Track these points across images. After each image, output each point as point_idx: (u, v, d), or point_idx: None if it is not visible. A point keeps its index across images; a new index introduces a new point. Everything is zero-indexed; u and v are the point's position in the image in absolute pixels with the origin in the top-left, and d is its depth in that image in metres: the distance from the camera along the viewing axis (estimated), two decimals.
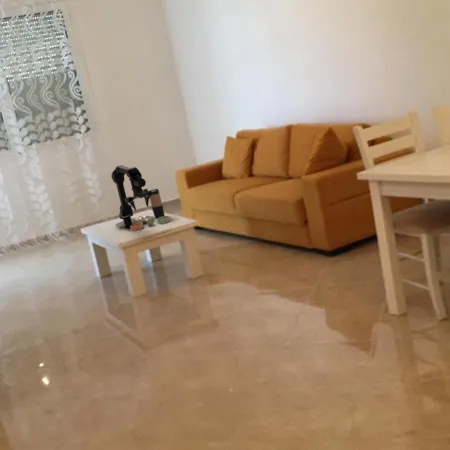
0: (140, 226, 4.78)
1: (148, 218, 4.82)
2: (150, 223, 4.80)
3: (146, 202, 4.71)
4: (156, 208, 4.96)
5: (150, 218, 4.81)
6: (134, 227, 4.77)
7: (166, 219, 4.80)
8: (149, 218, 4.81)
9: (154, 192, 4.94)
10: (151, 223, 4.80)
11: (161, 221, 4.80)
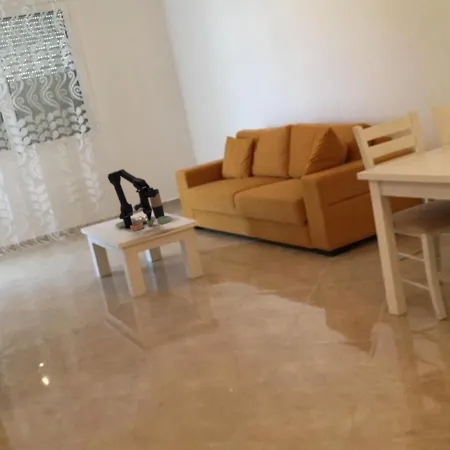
0: (140, 226, 4.78)
1: None
2: (150, 223, 4.80)
3: None
4: (156, 208, 4.96)
5: None
6: (134, 227, 4.77)
7: (166, 219, 4.80)
8: None
9: None
10: (151, 223, 4.80)
11: (161, 221, 4.80)
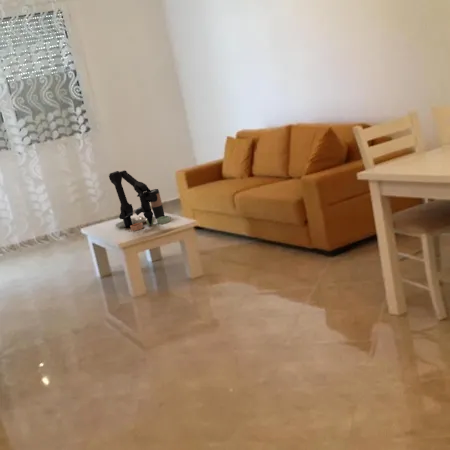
0: (140, 226, 4.78)
1: None
2: None
3: None
4: (156, 208, 4.96)
5: None
6: (134, 227, 4.77)
7: (166, 219, 4.80)
8: None
9: (154, 192, 4.94)
10: None
11: (161, 221, 4.80)
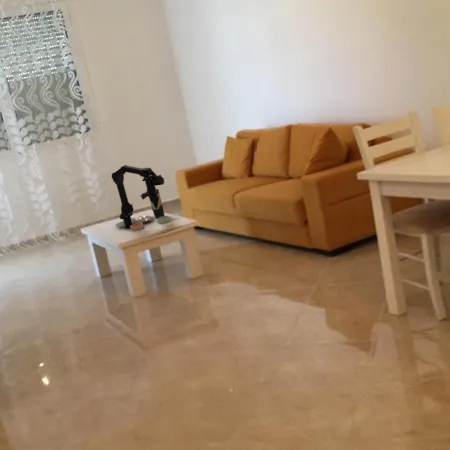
0: (140, 226, 4.78)
1: None
2: None
3: None
4: None
5: None
6: (134, 227, 4.77)
7: (166, 219, 4.80)
8: None
9: None
10: None
11: (161, 221, 4.80)
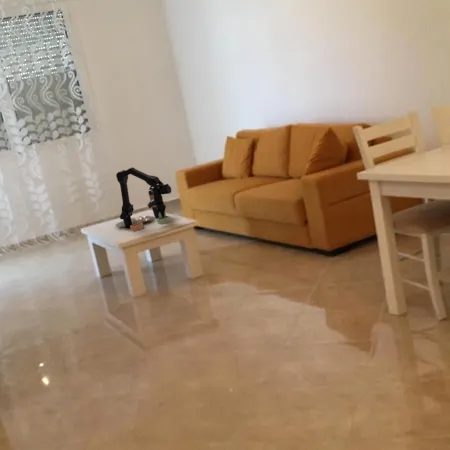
0: (140, 226, 4.78)
1: None
2: None
3: None
4: (156, 208, 4.96)
5: None
6: (134, 227, 4.77)
7: (166, 219, 4.80)
8: None
9: None
10: None
11: (161, 221, 4.80)
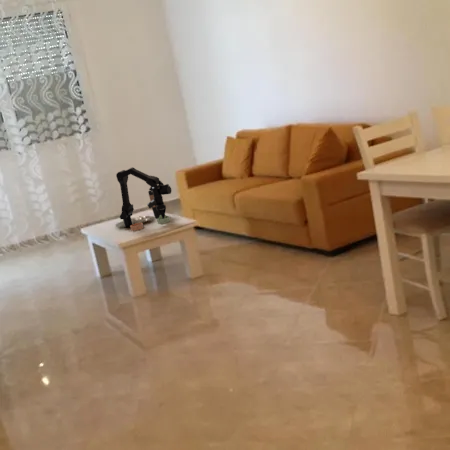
0: (140, 226, 4.78)
1: None
2: None
3: None
4: (156, 208, 4.96)
5: None
6: (134, 227, 4.77)
7: (166, 219, 4.80)
8: None
9: None
10: None
11: (161, 221, 4.80)
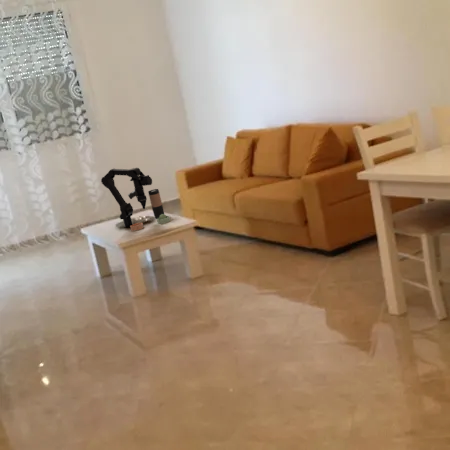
0: (140, 226, 4.78)
1: (161, 214, 4.83)
2: None
3: None
4: (156, 208, 4.96)
5: (163, 214, 4.82)
6: (134, 227, 4.77)
7: (166, 219, 4.80)
8: (162, 214, 4.82)
9: (154, 192, 4.94)
10: None
11: (161, 221, 4.80)
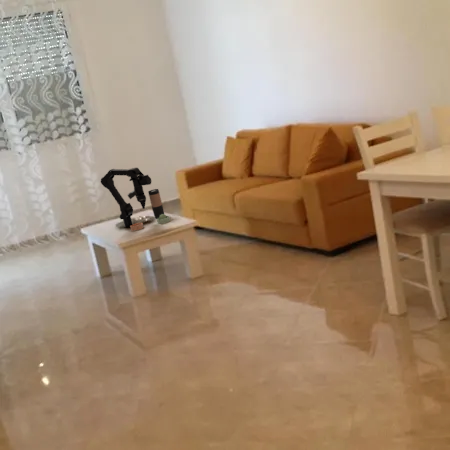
0: (140, 226, 4.78)
1: (161, 214, 4.83)
2: None
3: None
4: (156, 208, 4.96)
5: (163, 214, 4.83)
6: (134, 227, 4.77)
7: (166, 219, 4.80)
8: (162, 214, 4.82)
9: (154, 192, 4.94)
10: None
11: (161, 221, 4.80)
